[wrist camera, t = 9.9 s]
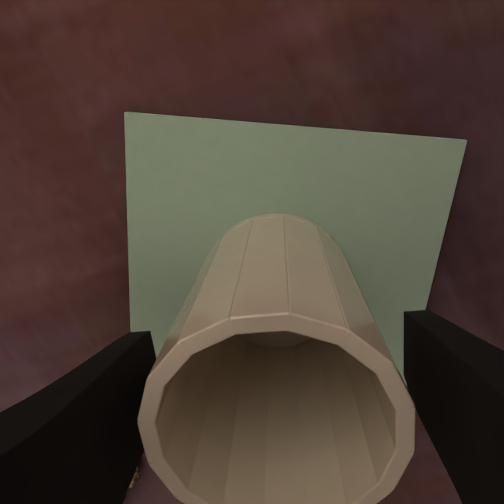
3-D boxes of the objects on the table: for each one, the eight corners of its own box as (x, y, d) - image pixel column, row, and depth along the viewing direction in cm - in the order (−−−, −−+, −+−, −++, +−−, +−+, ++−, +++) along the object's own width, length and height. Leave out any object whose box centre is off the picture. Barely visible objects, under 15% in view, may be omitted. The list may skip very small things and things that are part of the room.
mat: (463, 139, 14) (467, 139, 14) (396, 413, 18) (398, 419, 18) (127, 111, 15) (123, 111, 14) (134, 386, 19) (131, 391, 18)
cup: (346, 205, 15) (417, 302, 7) (352, 342, 17) (414, 532, 9) (192, 220, 15) (110, 326, 8) (215, 351, 17) (166, 538, 10)
